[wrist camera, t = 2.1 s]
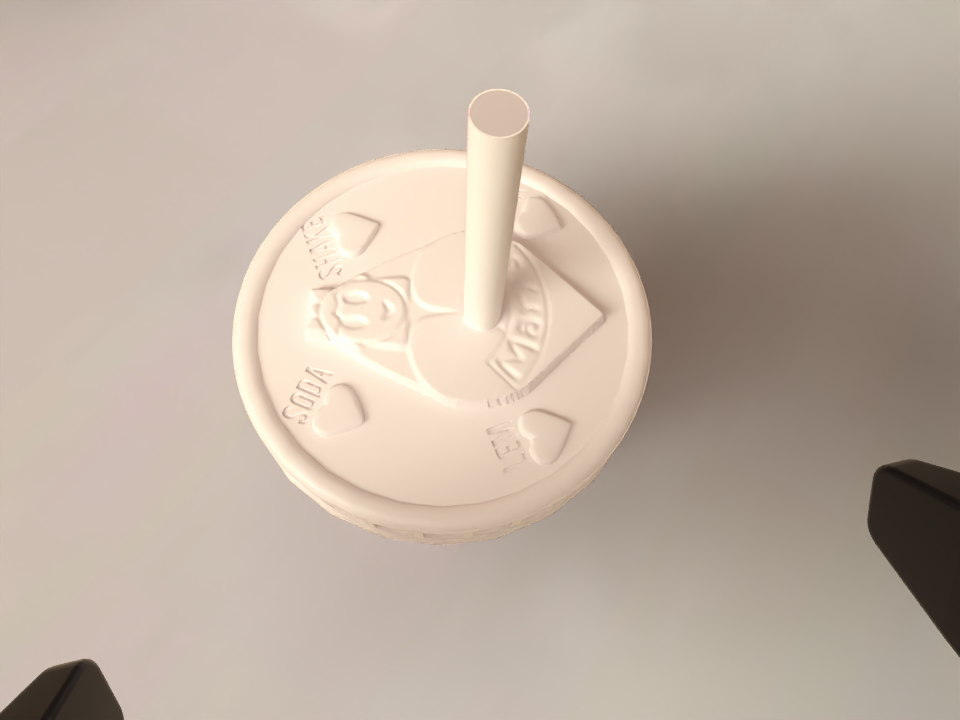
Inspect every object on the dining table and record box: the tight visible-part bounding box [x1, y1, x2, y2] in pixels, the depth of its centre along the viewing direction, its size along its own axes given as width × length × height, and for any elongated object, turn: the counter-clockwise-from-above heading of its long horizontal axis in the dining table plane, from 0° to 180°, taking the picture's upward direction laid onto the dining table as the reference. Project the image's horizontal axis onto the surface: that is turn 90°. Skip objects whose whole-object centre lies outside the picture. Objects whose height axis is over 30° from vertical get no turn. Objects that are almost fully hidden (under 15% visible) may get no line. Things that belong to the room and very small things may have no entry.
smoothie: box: [232, 89, 652, 545], centre depth 12 cm, size 6×6×14 cm
